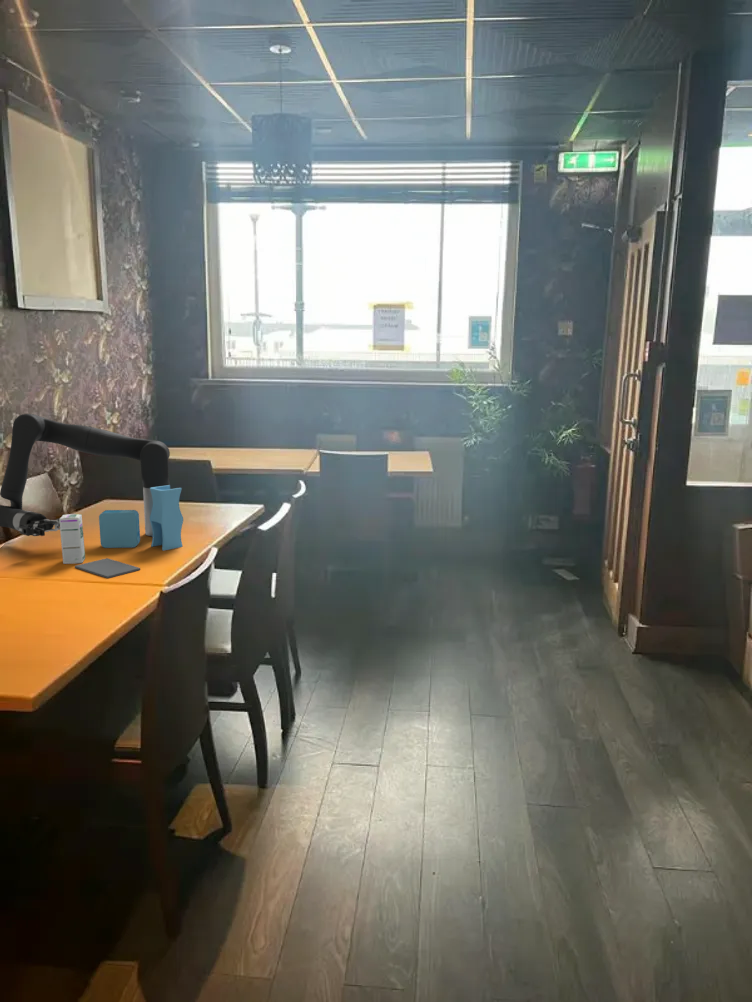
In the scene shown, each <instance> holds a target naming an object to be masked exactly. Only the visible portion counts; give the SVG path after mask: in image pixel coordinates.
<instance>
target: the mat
mask: <svg viewBox="0 0 752 1002" xmlns="http://www.w3.org/2000/svg"><path fill="white" fill-rule="evenodd" d="M74 568H75V569H78V570H81V571H84V572H87V573H90V574H93V575H96V576H100V577H102V578H106V579H111V578H115V577H118V576H122V575H125V574H130V573H134V572H138V571H141V567H139V566H135V565H132V564H128V563H124V562H122V561H119V560H118V561H117V560H114V559H111V558H107V557H106V558H101V559H98V560H94V561H89V562H85V563H79V564H75V565H74Z"/></svg>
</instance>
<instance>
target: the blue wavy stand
mask: <svg viewBox="0 0 752 1002" xmlns="http://www.w3.org/2000/svg"><path fill="white" fill-rule="evenodd" d="M182 489H183V487H176V488H171V484H170V485H166V486H158V487H151V488H150V490H151V494H152V499H153V507H152V512H151V515H150V523H151V526H152V531H153V536H152V539H151V540H152V541H151V545H150V546H151V547H157V546H158V547H159V546H162V547H161V550H162V551H168V550H169V551H170V550H173V549H178V548H182V547H183V542H182V529H183V528H182V527H183V525H184V524H183V523H184V516H183V514H182V511H181V507H180V496H181V492H182Z"/></svg>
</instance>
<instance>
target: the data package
mask: <svg viewBox="0 0 752 1002" xmlns="http://www.w3.org/2000/svg"><path fill="white" fill-rule="evenodd" d="M98 522H99V539H100V541H99V543H100V545H101V547H102V548H104V549H109V548H110V549H115V548H116V549H117V548H118V549H119V548H121V549H123V548H124V549H125V548H136V547H137V546H138V545H139V544H140V542H141V532H140V531H141V530H140V527H141V526H140V513H139V512H138V510H136V509H105V510H103V511H102V512H101V513H100V514H99V516H98Z"/></svg>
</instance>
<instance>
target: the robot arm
mask: <svg viewBox="0 0 752 1002" xmlns="http://www.w3.org/2000/svg"><path fill="white" fill-rule="evenodd" d="M35 442H43V443H45V442H46V443H53V444H58V445H61V446H64V447H66V448H69V449H72V450H75V451H78V452H81V453H85V454H89V455H93V456H100V457H110V458H111V457H112V458H115V457H116V458H117V457H118V458H128V459H133V460H137V461H140V473H141V475H140V476H141V481H142V493H143V513H144V531H145V533H144V534H145V536H148V537H153V531H152V526H151V523H150V515H151V512H152V507H153V499H152V494H151V490H150V488H151V487H158V486H166V485H170V486H171V484H170V483H171V481H170V480H171V479H170V474H169V459H170V455H171V452H170V449H169V447H168V445H166V443H164V442H163V441H160V440H155V439H143V438H135V437H131V436H128V435H124V434H120V433H118V432H114V431H110V430H106V429H102V428H98V427H94V426H89V425H81V424H72V423H71V424H70V423H64V422H63V423H62V422H59V421H55V420H51V419H49V418H45V417H42V416H39V415H37V414H32V413H23V414H20V415H19V416H16V418H15V419H14V421H13V423H12V433H11V444H10V449H9V456H8V460H7V465H6V469H5V472H4V477H3V479H2V484H1V488H0V497H1V498H2V499H5V500H7V501H9V502H10V506H9V505H3V504H0V527H1V528H8V529H11V530H14V531H18V532H19V534H21V535H22V536H23V535H24V536H27V537H29V536H32V537H44V536H45V535H46V534H45V533H47V532H57V531H60V522H59V519H60V517H59V518H56V519H49V518H47V517H46V516H45V515H44V514H42V513H40V512H35V511H32V510H31V511H30V510H26V509H25V510H24V509H23V495H24V492H25V488H26V485H27V482H28V481H27V480H28V476H29V475H28V474H29V461H30V455H31V453H32V450H33V449H32V448H33V447H34V444H35Z"/></svg>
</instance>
